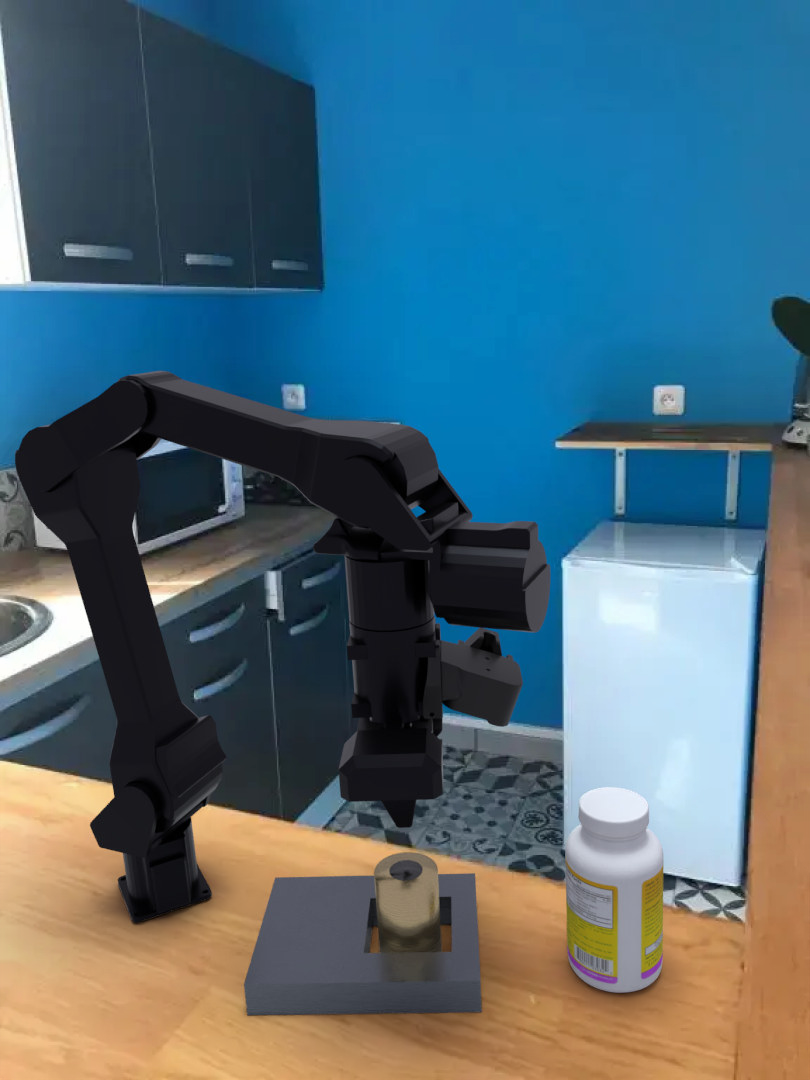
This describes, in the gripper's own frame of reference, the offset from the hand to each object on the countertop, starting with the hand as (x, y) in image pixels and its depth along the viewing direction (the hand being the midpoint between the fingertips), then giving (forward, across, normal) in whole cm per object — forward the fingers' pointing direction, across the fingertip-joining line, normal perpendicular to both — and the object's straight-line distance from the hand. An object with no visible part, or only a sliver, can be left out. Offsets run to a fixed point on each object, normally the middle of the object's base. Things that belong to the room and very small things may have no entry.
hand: (404, 824), depth 66 cm
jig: (+11, 0, +3) cm, 11 cm away
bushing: (+11, 0, 0) cm, 11 cm away
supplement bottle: (+11, -1, -14) cm, 18 cm away
